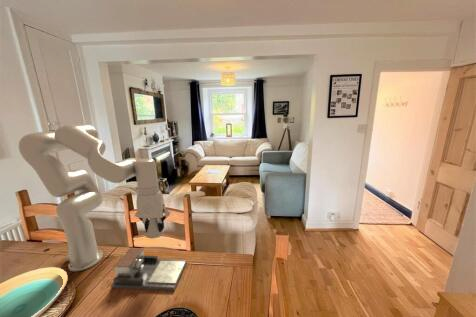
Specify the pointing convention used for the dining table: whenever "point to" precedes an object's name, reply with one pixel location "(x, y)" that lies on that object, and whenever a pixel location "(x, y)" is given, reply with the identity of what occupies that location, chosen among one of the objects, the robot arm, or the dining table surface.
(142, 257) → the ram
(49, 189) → the robot arm
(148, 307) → the dining table surface
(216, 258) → the dining table surface
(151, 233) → the flask
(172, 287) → the press base
